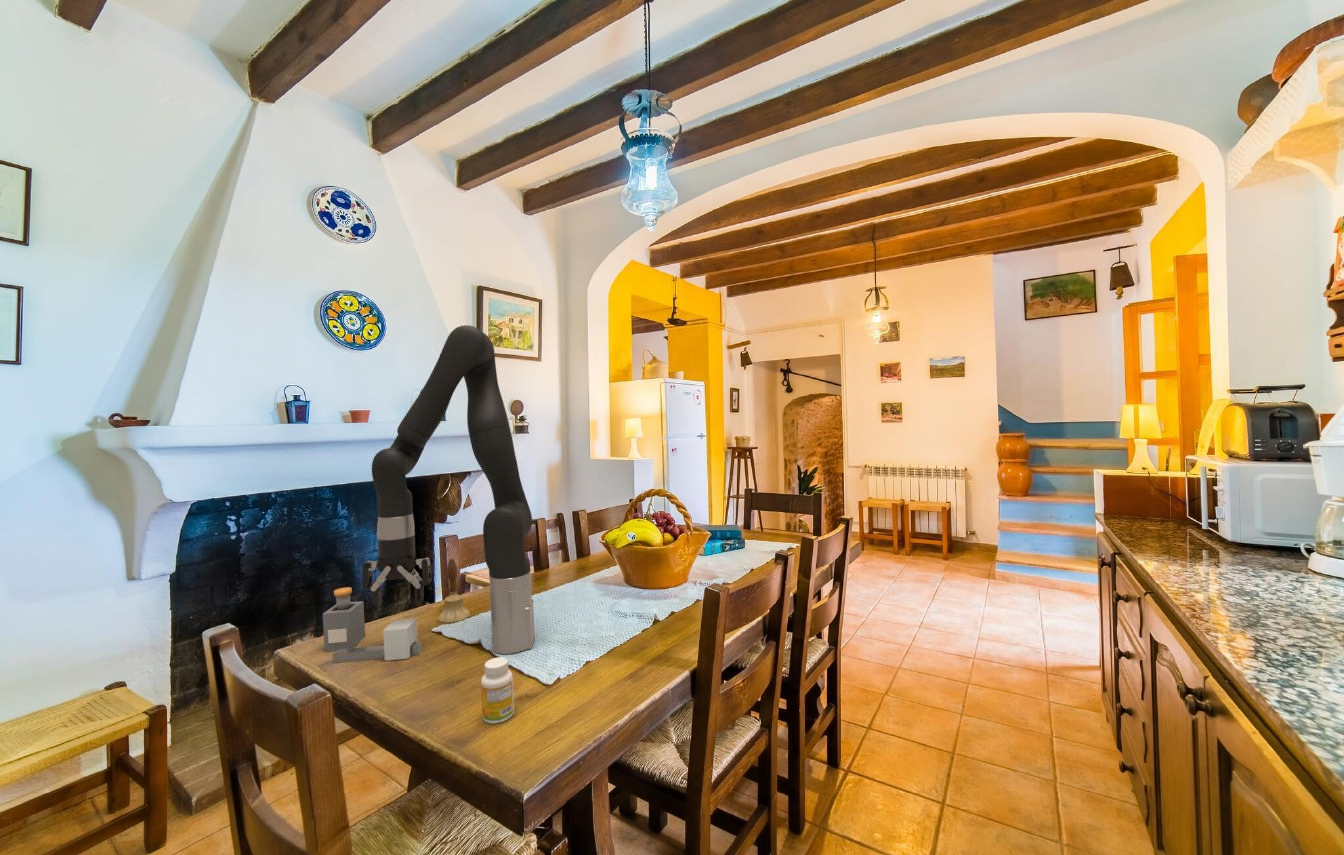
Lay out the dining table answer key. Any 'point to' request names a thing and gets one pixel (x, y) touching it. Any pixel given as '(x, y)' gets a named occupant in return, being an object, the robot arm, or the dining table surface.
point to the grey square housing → (343, 627)
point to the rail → (368, 653)
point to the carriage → (399, 638)
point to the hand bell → (453, 599)
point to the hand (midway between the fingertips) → (398, 604)
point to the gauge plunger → (343, 598)
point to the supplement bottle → (497, 691)
